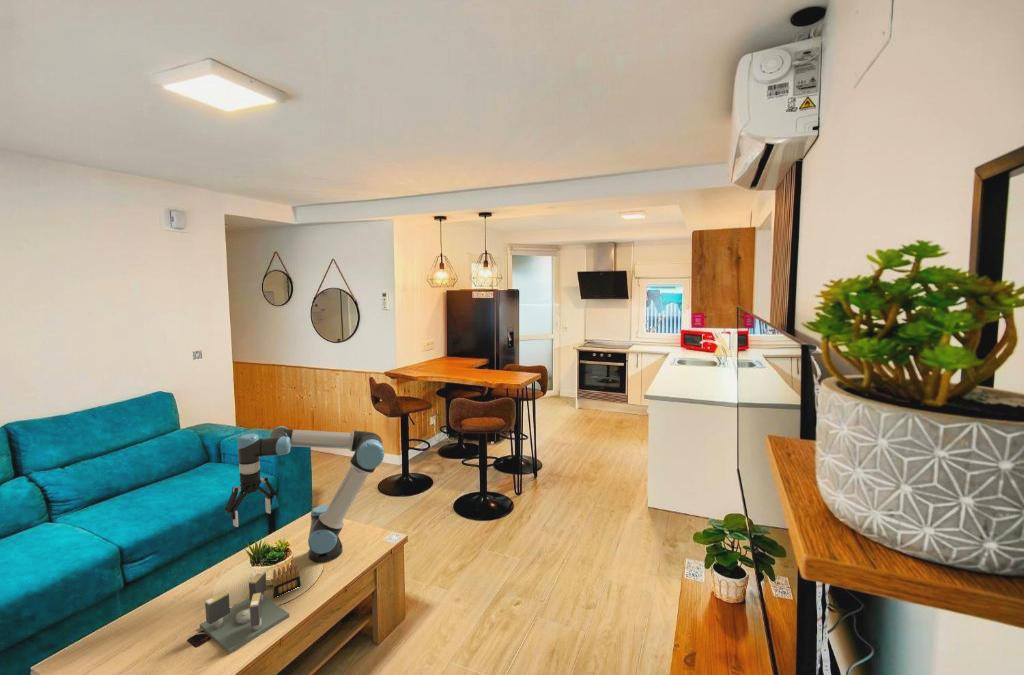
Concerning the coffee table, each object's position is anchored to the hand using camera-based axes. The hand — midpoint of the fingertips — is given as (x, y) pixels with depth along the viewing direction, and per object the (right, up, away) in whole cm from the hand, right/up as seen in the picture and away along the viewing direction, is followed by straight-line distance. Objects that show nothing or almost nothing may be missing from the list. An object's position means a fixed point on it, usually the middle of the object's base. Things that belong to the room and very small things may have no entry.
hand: (252, 519), depth 196 cm
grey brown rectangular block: (+10, -29, -12) cm, 33 cm away
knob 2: (+16, -30, -26) cm, 43 cm away
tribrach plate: (+9, -31, -21) cm, 39 cm away
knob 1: (+1, -30, -25) cm, 39 cm away
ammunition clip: (+16, -30, -3) cm, 34 cm away
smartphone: (0, -32, -25) cm, 41 cm away
